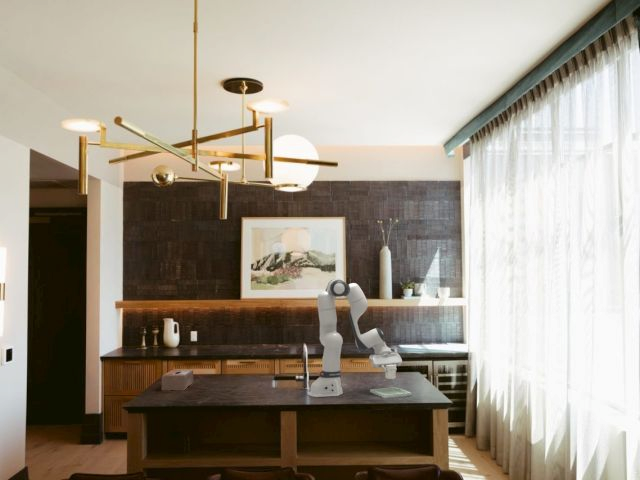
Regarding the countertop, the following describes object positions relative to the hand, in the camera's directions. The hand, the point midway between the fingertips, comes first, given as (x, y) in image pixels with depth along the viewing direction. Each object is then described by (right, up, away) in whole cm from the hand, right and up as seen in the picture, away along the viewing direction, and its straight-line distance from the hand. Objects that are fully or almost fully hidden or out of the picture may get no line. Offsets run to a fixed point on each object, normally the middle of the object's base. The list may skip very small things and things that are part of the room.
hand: (390, 371), depth 368 cm
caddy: (0, -4, 0) cm, 4 cm away
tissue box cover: (-139, -18, +30) cm, 143 cm away
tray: (0, -14, 0) cm, 14 cm away
